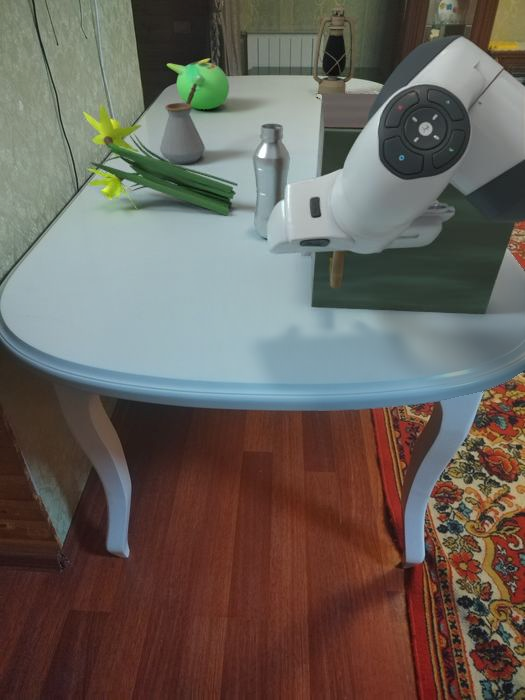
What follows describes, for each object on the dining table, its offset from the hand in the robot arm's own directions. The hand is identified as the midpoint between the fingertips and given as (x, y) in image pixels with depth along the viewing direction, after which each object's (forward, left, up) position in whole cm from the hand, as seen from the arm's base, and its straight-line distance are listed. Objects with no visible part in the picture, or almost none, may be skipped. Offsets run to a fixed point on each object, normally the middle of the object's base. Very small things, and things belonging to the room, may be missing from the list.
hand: (339, 248), depth 67 cm
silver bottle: (+11, -29, -13) cm, 33 cm away
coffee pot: (+36, -76, -13) cm, 85 cm away
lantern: (-4, -143, -13) cm, 143 cm away
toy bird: (+40, -122, -13) cm, 129 cm away
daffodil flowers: (+35, -43, -13) cm, 56 cm away
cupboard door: (-10, -2, -12) cm, 16 cm away
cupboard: (-10, -15, -12) cm, 22 cm away
